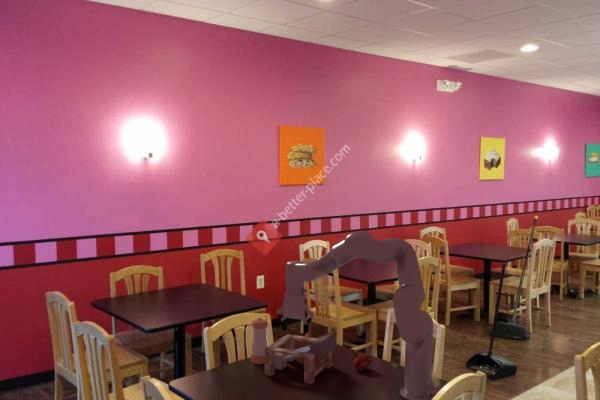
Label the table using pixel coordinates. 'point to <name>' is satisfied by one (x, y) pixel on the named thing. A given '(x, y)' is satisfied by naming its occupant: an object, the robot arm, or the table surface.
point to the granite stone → (280, 364)
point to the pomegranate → (362, 361)
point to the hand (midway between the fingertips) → (295, 331)
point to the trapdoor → (315, 348)
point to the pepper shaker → (259, 341)
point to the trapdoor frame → (309, 367)
